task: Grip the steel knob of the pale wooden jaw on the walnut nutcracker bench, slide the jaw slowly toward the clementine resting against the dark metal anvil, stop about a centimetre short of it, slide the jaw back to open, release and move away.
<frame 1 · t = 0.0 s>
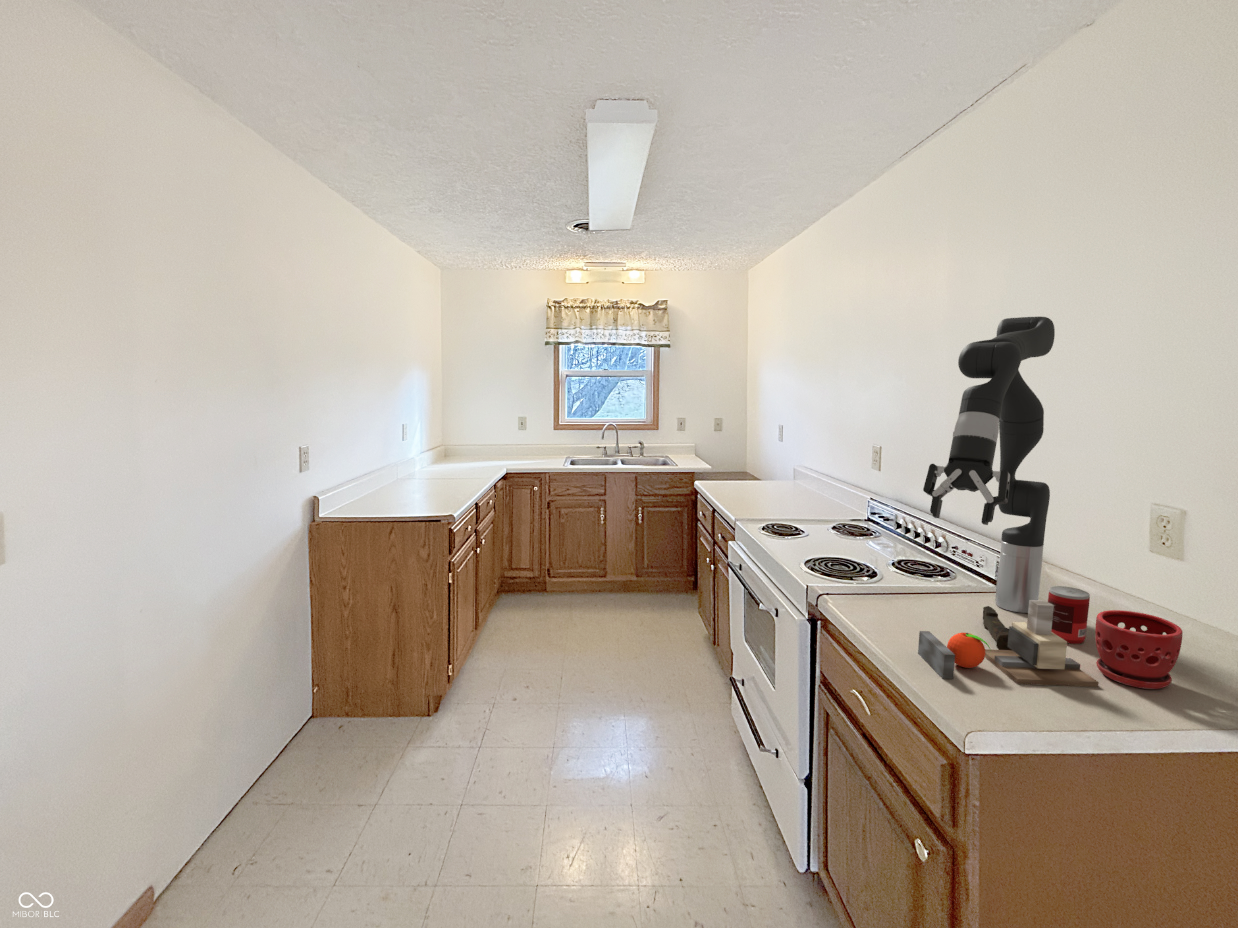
hand: (959, 520, 122), 31 cm above the counter, tool tilted 20°, fingers open, 8 cm apart
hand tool: (992, 636, 148), on the counter
plant pot: (1131, 680, 126), on the counter
jaw: (1036, 630, 129), point 8 cm above the counter, slide at 0.0 cm
clementine: (967, 667, 131), on the counter
canned food: (1064, 638, 147), on the counter
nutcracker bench: (992, 667, 130), on the counter
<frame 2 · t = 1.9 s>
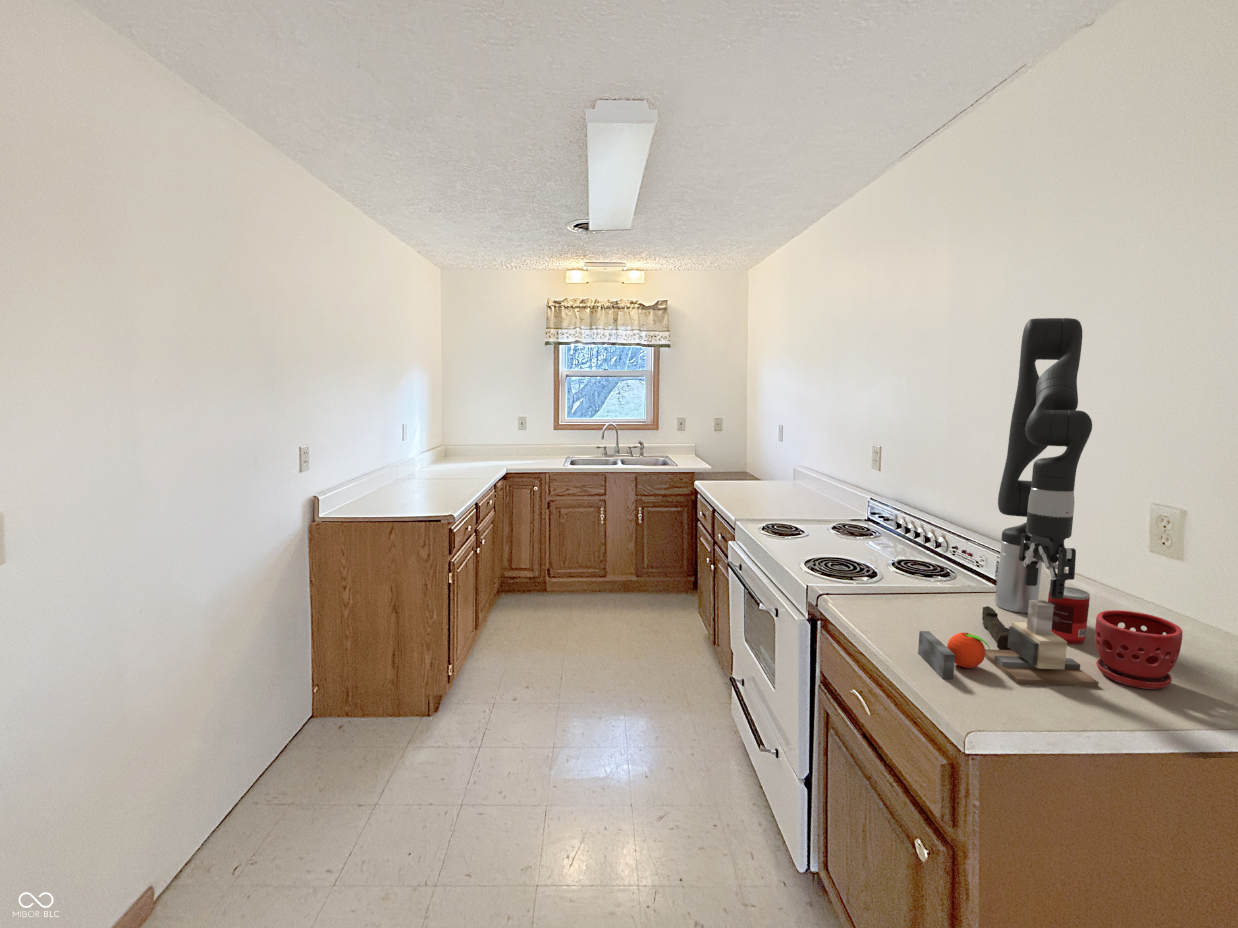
hand: (1042, 591, 128), 16 cm above the counter, tool pointing down, fingers open, 8 cm apart
nothing on the counter moved.
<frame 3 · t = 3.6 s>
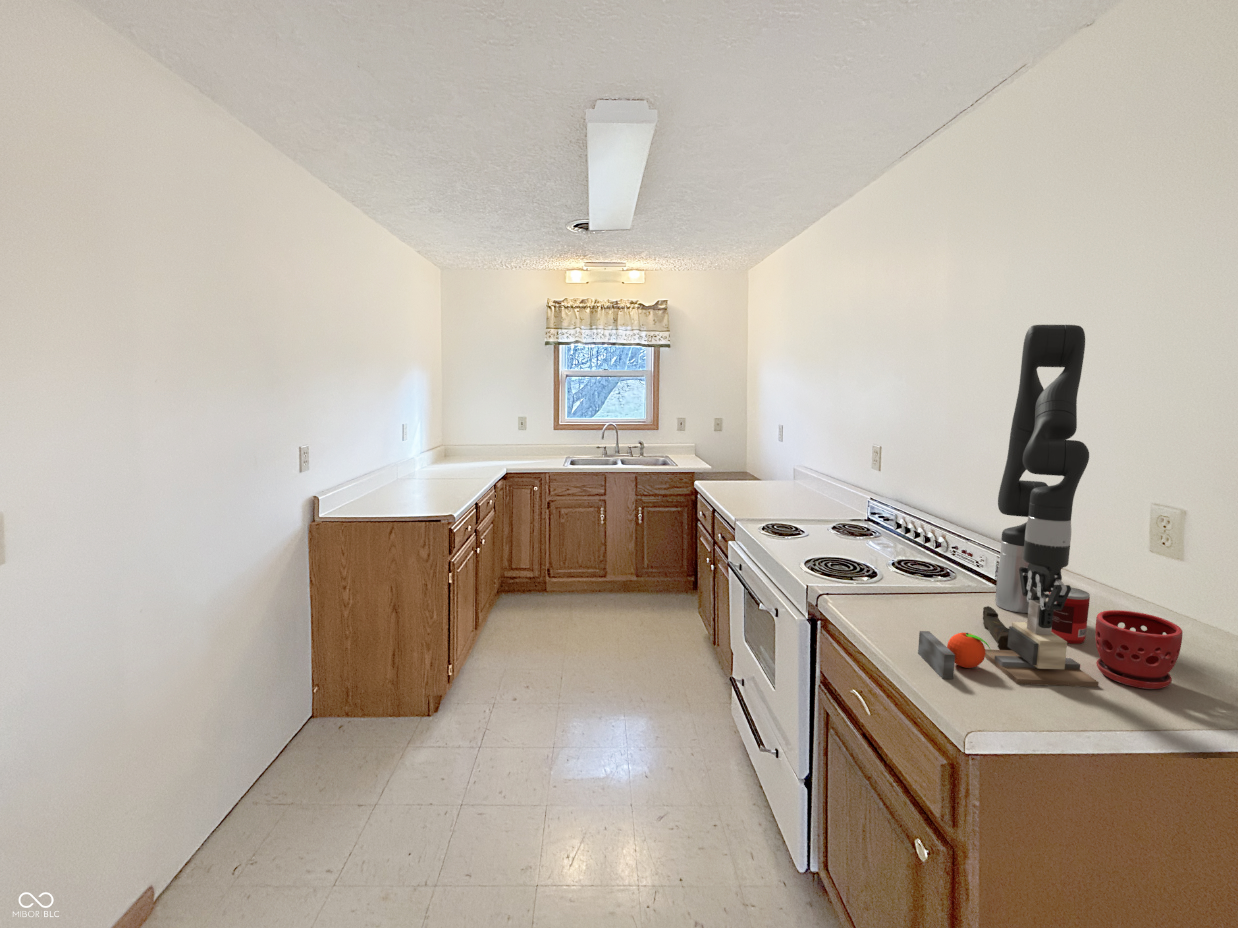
hand: (1039, 623, 129), 10 cm above the counter, tool pointing down, fingers closed on jaw, 3 cm apart
jaw: (1036, 630, 129), point 8 cm above the counter, slide at 0.0 cm, touching gripper
everything else where it was.
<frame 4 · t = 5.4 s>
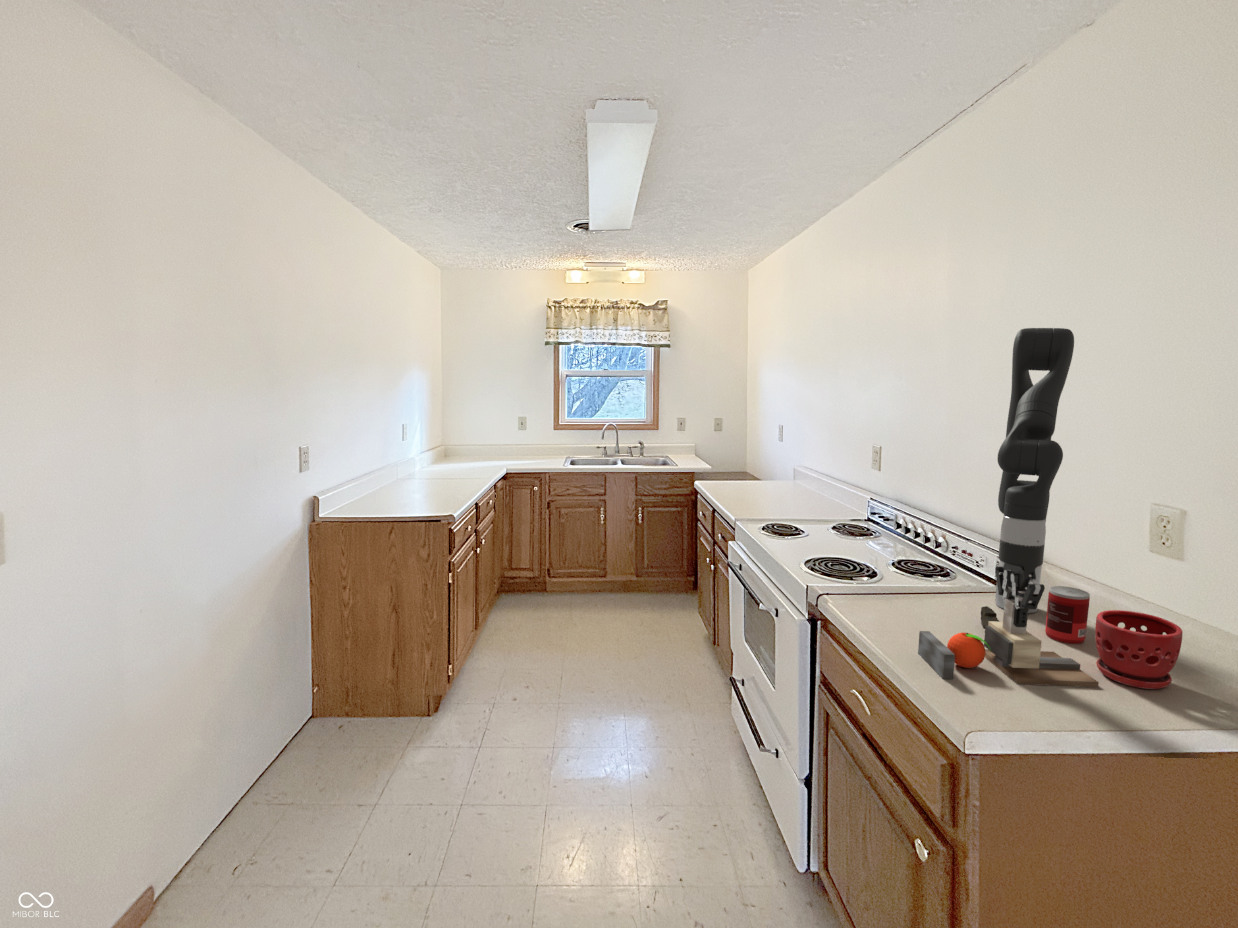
hand: (1014, 622, 129), 10 cm above the counter, tool pointing down, fingers closed on jaw, 3 cm apart
jaw: (1012, 629, 129), point 8 cm above the counter, slide at 4.8 cm, touching gripper
everything else where it was.
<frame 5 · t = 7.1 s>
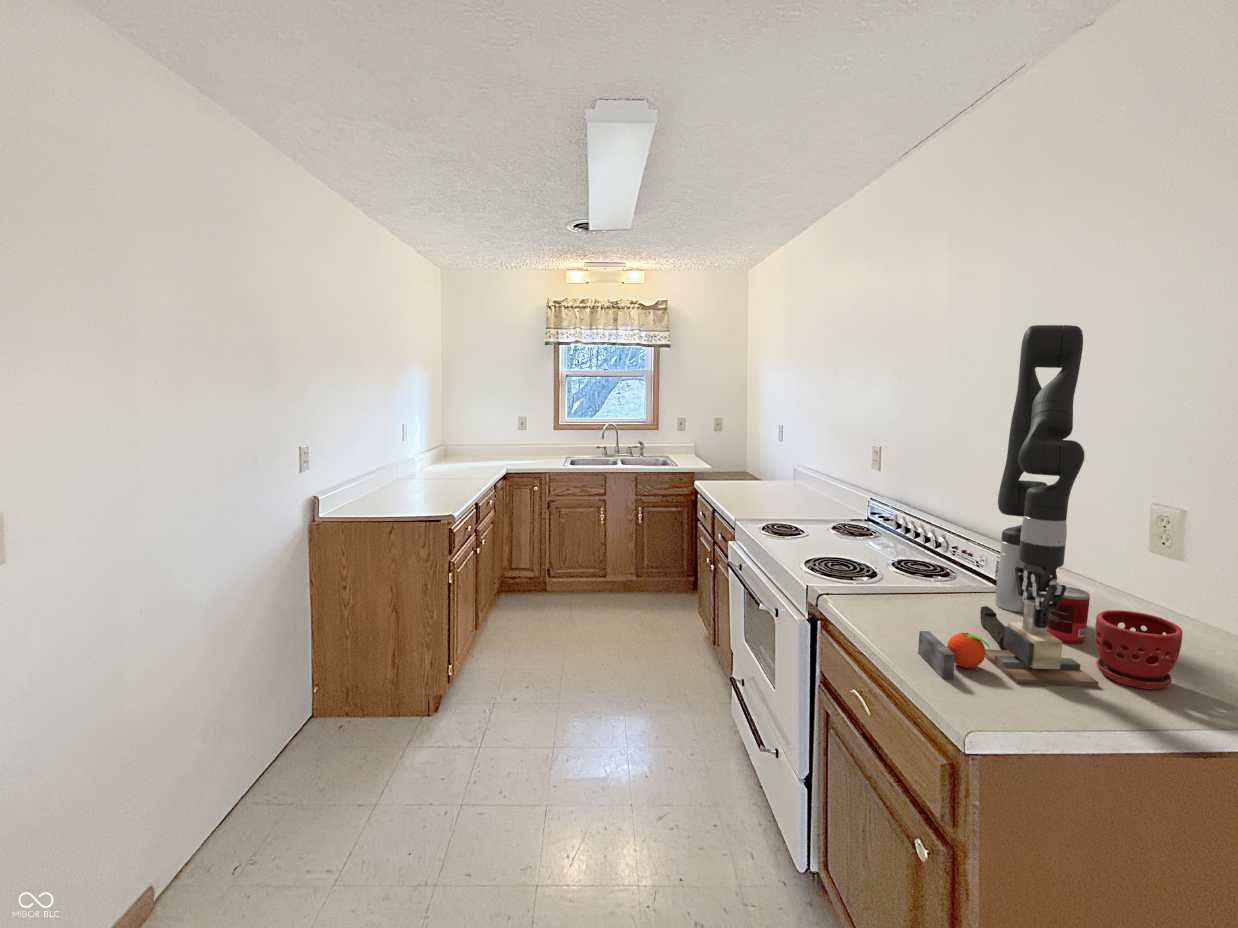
hand: (1034, 623, 129), 10 cm above the counter, tool pointing down, fingers closed on jaw, 3 cm apart
jaw: (1032, 630, 129), point 8 cm above the counter, slide at 0.9 cm, touching gripper
everything else where it was.
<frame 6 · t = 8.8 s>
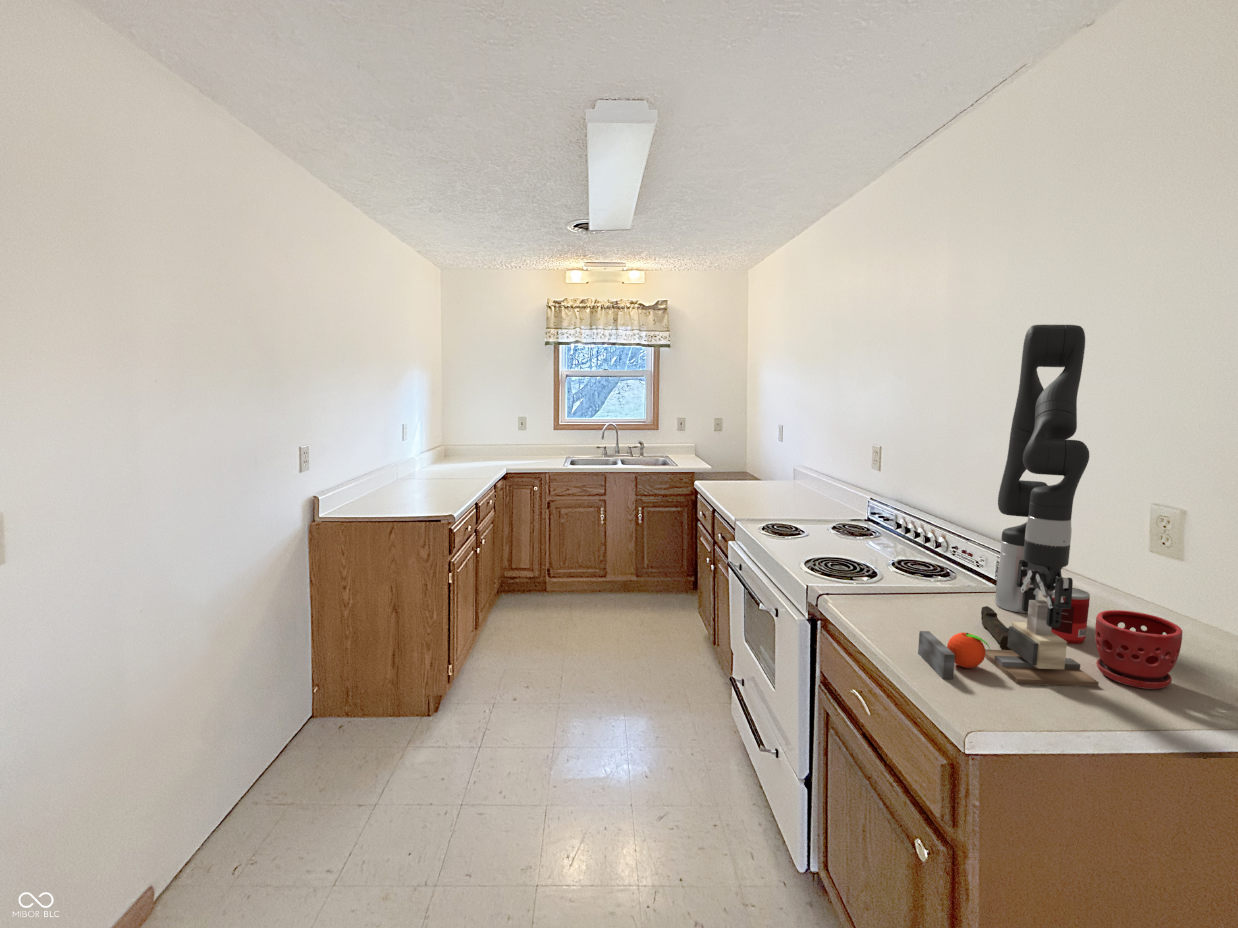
hand: (1039, 618, 128), 11 cm above the counter, tool pointing down, fingers open, 8 cm apart
jaw: (1036, 630, 129), point 8 cm above the counter, slide at 0.0 cm
everything else where it was.
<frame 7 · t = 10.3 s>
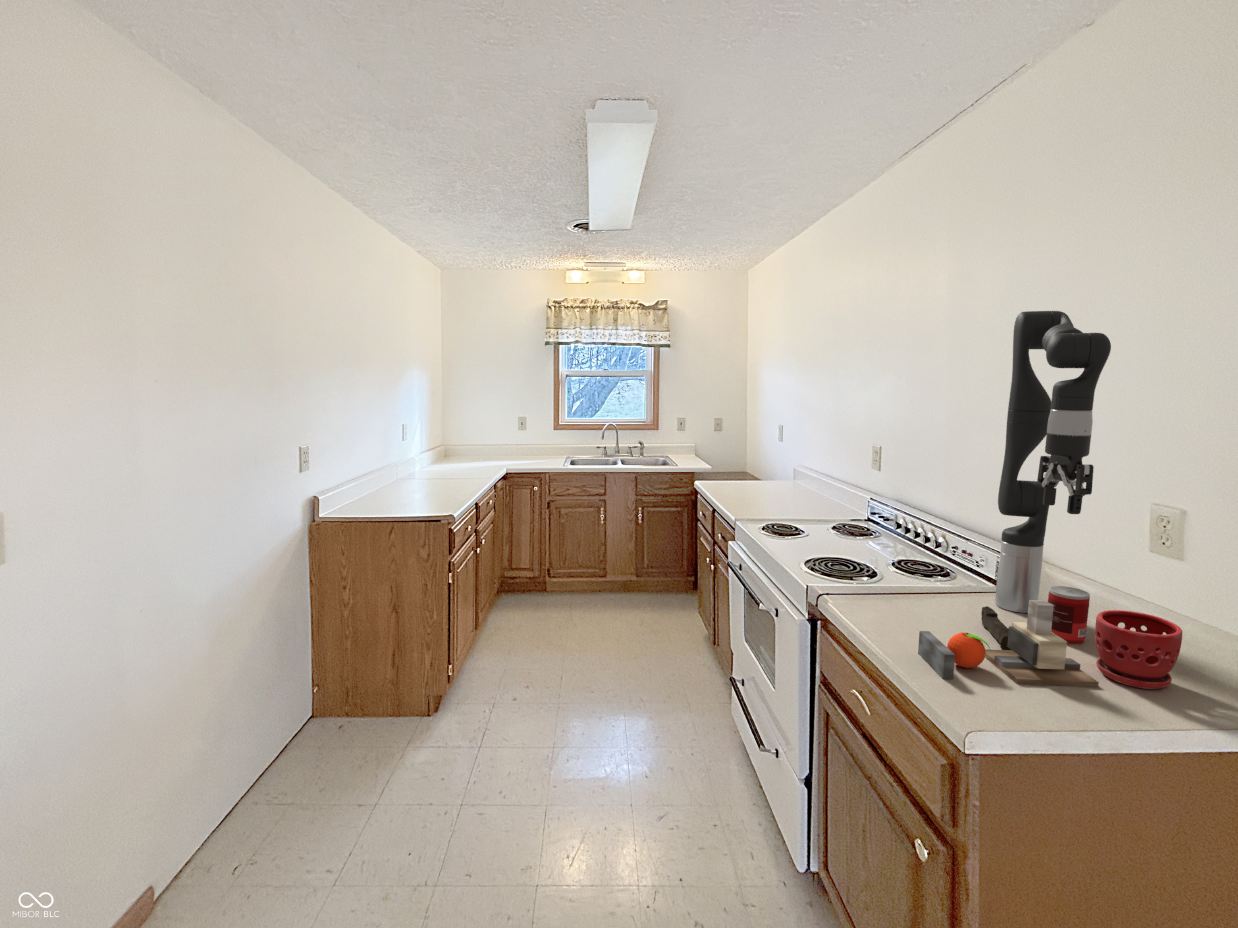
hand: (1060, 509, 134), 32 cm above the counter, tool pointing down, fingers open, 8 cm apart
nothing on the counter moved.
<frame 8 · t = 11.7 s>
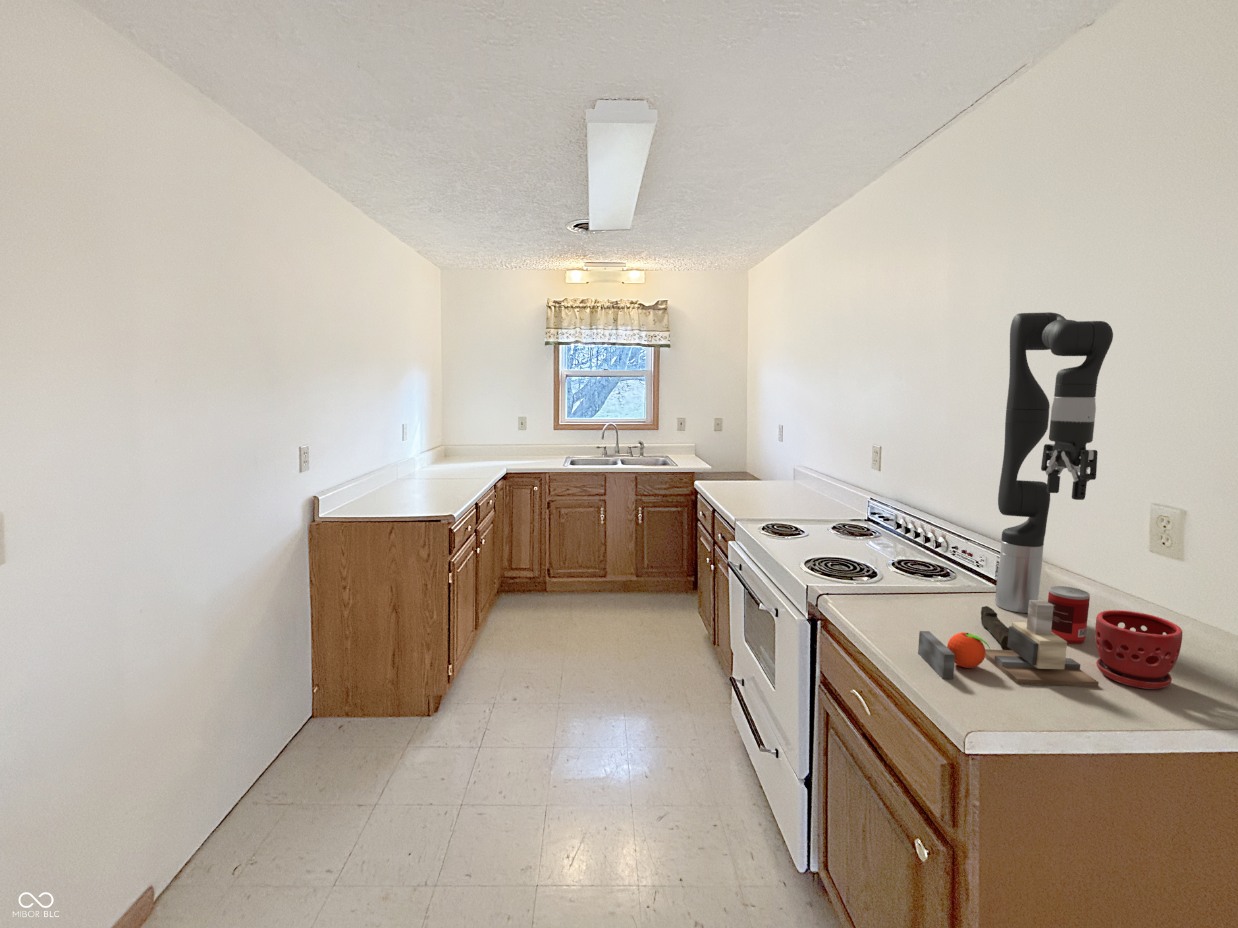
hand: (1064, 496, 135), 34 cm above the counter, tool pointing down, fingers open, 8 cm apart
nothing on the counter moved.
at the end: jaw slide at 0.0 cm; clementine moved 0.2 cm from its start; the gripper is holding nothing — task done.
